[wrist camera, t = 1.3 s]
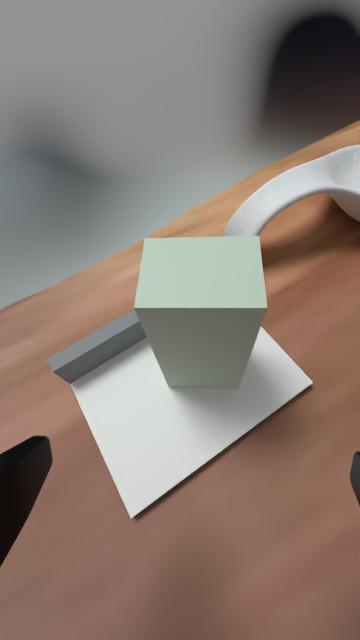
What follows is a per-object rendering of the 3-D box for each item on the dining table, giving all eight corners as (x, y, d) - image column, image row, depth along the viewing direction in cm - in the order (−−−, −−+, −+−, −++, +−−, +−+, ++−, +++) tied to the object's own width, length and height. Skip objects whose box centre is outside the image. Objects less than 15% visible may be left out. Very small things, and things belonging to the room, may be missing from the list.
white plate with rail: (216, 283, 28) (217, 257, 25) (309, 385, 22) (327, 369, 19) (67, 372, 25) (45, 356, 21) (133, 516, 19) (118, 525, 16)
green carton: (236, 339, 24) (258, 232, 13) (238, 388, 22) (267, 307, 11) (171, 338, 24) (145, 235, 14) (168, 386, 22) (133, 307, 12)
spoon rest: (379, 161, 35) (416, 93, 29) (461, 220, 29) (529, 151, 23) (207, 226, 32) (206, 166, 26) (261, 305, 27) (278, 252, 20)
